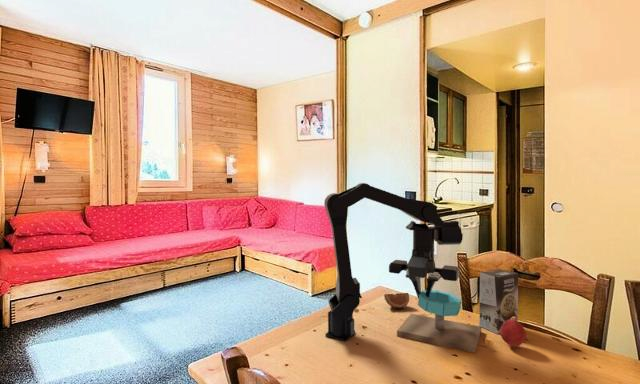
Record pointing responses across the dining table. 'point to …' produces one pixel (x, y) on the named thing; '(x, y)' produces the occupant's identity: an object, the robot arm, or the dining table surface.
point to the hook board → (441, 332)
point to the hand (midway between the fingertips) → (423, 299)
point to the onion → (513, 332)
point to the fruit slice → (397, 300)
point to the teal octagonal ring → (439, 303)
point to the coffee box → (497, 298)
